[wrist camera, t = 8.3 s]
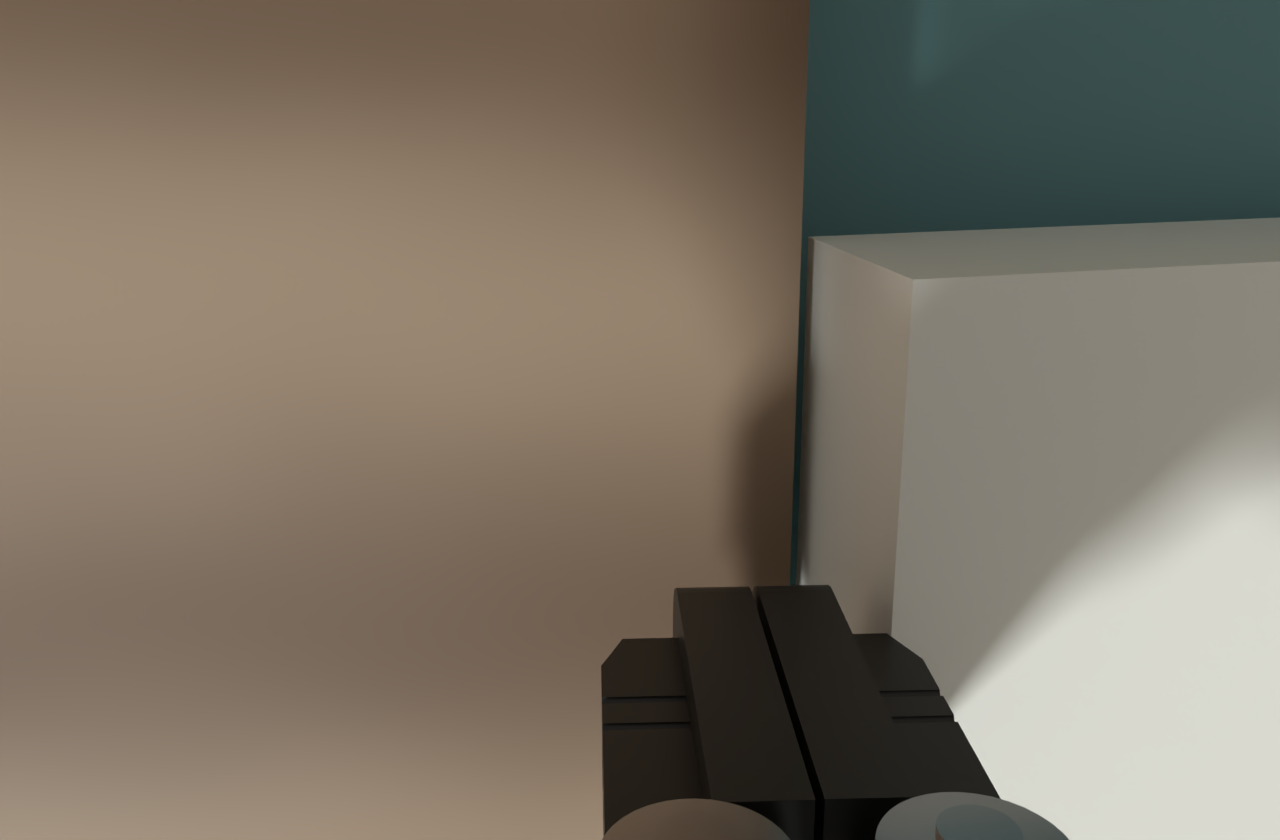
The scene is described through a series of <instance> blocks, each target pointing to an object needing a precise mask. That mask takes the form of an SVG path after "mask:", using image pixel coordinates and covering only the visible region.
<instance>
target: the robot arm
mask: <svg viewBox="0 0 1280 840" xmlns="http://www.w3.org/2000/svg"><path fill="white" fill-rule="evenodd" d="M601 701H602V790H603V839H602V840H1069V839H1068V838H1067V837H1066V836H1065V834H1064V833H1063V832H1062V831H1060V830H1059V829H1058V828H1057V827H1056V826H1054V825H1053V824H1052V823H1051V822H1049V821H1048V820H1046V819H1044V818H1043V817H1041V816H1040V815H1038V814H1036V813H1034V812H1032V811H1030V810H1028V809H1026V808H1024V807H1022V806H1019V805H1017V804H1014V803H1012V802H1009V801H1006V800H1002V799H1001V798H1000V797H999V795H998V793H997V791H996V789H995V788H994V786H993V784H992V782H991V780H990V779H989V777H988V775H987V773H986V771H985V770H984V768H983V766H982V764H981V762H980V761H979V759H978V757H977V755H976V754H975V752H974V750H973V748H972V746H971V745H970V743H969V741H968V739H967V737H966V736H965V734H964V732H963V730H962V728H961V727H960V725H959V723H958V722H955V721H954V714H953V712H952V710H951V709H950V707H949V705H948V703H947V702H946V700H945V698H944V696H940V689H939V687H938V685H937V684H936V682H935V680H934V678H933V676H932V675H931V673H930V671H929V669H928V667H927V666H926V664H925V662H924V660H923V659H922V658H921V657H919V656H918V655H916V654H915V653H914V652H912V651H911V650H909V649H908V648H907V647H905V646H904V645H902V644H901V643H900V642H898V641H897V640H895V639H894V638H893V637H891V636H890V635H888V634H887V633H872V634H853V633H852V631H851V629H850V627H849V625H848V623H847V620H846V618H845V616H844V614H843V612H842V610H841V607H840V605H839V603H838V601H837V599H836V597H835V594H834V592H833V590H832V588H831V586H829V585H789V586H754V587H753V590H752V591H751V589H750V587H749V586H747V587H692V588H675V589H674V598H673V638H635V639H622V640H621V641H620V643H619V644H618V645H617V646H616V648H615V649H614V650H613V651H612V653H611V654H610V655H609V657H608V658H607V659H606V660H605V662H604V663H603V664H602V665H601Z"/></svg>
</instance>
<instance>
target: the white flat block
mask: <svg viewBox="0 0 1280 840" xmlns="http://www.w3.org/2000/svg"><path fill="white" fill-rule="evenodd" d="M796 585H829V586H831V588H832V590H833V592H834V594H835V597H836V599H837V601H838V603H839V605H840V607H841V610H842V612H843V614H844V616H845V618H846V620H847V623H848V625H849V627H850V629H851V631H852V633H853V634H872V633H887V634H888V635H890V636H891V637H893V638H894V639H895V640H897V641H898V642H900V643H901V644H902V645H904V646H905V647H907V648H908V649H909V650H911V651H912V652H914V653H915V654H916V655H918V656H919V657H921V658H922V659H923V660H924V662H925V664H926V666H927V667H928V669H929V671H930V673H931V675H932V676H933V678H934V680H935V682H936V684H937V685H938V687H939V689H940V696H944V698H945V700H946V702H947V703H948V705H949V707H950V709H951V710H952V712H953V714H954V721H955V722H958V723H959V725H960V727H961V728H962V730H963V732H964V734H965V736H966V737H967V739H968V741H969V743H970V745H971V746H972V748H973V750H974V752H975V754H976V755H977V757H978V759H979V761H980V762H981V764H982V766H983V768H984V770H985V771H986V773H987V775H988V777H989V779H990V780H991V782H992V784H993V786H994V788H995V789H996V791H997V793H998V795H999V797H1000V798H1001V799H1002V800H1006V801H1009V802H1012V803H1014V804H1017V805H1019V806H1022V807H1024V808H1026V809H1028V810H1030V811H1032V812H1034V813H1036V814H1038V815H1040V816H1041V817H1043V818H1044V819H1046V820H1048V821H1049V822H1051V823H1052V824H1053V825H1054V826H1056V827H1057V828H1058V829H1059V830H1060V831H1062V832H1063V833H1064V834H1065V836H1066V837H1067V838H1068V839H1069V840H1280V217H1279V218H1255V219H1230V220H1206V221H1181V222H1157V223H1132V224H1107V225H1083V226H1058V227H1034V228H1009V229H985V230H960V231H936V232H911V233H887V234H862V235H838V236H813V237H808V262H807V290H806V318H805V347H804V375H803V403H802V431H801V460H800V488H799V516H798V545H797V573H796Z"/></svg>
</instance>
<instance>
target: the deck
mask: <svg viewBox="0 0 1280 840" xmlns="http://www.w3.org/2000/svg"><path fill="white" fill-rule="evenodd" d="M809 6H810V0H0V840H602V839H603V790H602V701H601V665H602V664H603V663H604V662H605V660H606V659H607V658H608V657H609V655H610V654H611V653H612V651H613V650H614V649H615V648H616V646H617V645H618V644H619V643H620V641H621V640H622V639H635V638H673V598H674V589H675V588H692V587H747V586H749V587H750V589H751V591H752V590H753V587H754V586H789V585H790V562H791V533H792V504H793V474H794V445H795V416H796V386H797V357H798V328H799V298H800V269H801V240H802V211H803V181H804V152H805V123H806V93H807V64H808V35H809Z"/></svg>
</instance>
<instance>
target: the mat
mask: <svg viewBox="0 0 1280 840" xmlns="http://www.w3.org/2000/svg"><path fill="white" fill-rule="evenodd" d="M1279 217H1280V0H810V6H809V35H808V64H807V93H806V123H805V152H804V181H803V211H802V240H801V269H800V298H799V328H798V357H797V386H796V416H795V445H794V474H793V504H792V533H791V562H790V585H796V573H797V545H798V516H799V488H800V460H801V431H802V403H803V375H804V347H805V318H806V290H807V262H808V237H813V236H838V235H862V234H887V233H911V232H936V231H960V230H985V229H1009V228H1034V227H1058V226H1083V225H1107V224H1132V223H1157V222H1181V221H1206V220H1230V219H1255V218H1279Z"/></svg>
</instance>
